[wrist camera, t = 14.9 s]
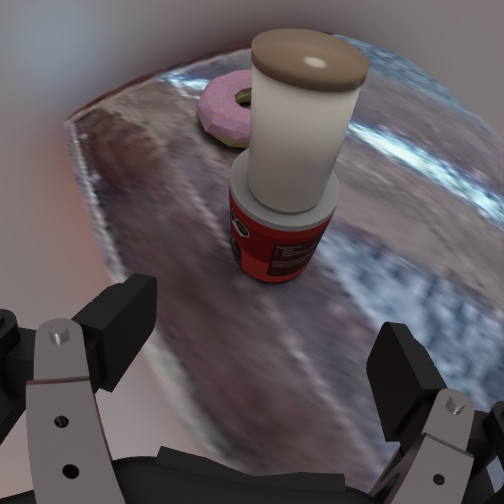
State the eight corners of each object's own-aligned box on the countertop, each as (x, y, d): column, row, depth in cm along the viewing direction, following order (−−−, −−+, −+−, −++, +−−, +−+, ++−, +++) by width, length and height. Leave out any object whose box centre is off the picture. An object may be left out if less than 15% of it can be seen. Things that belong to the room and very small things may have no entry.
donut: (225, 174, 35) (224, 143, 30) (183, 106, 40) (179, 79, 36) (331, 139, 38) (340, 112, 34) (274, 82, 44) (277, 57, 40)
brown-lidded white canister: (284, 141, 22) (302, 23, 14) (342, 184, 21) (388, 63, 12) (229, 177, 20) (226, 42, 12) (289, 229, 19) (325, 89, 10)
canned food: (248, 205, 33) (253, 129, 23) (318, 232, 32) (350, 162, 22) (218, 266, 30) (208, 200, 20) (295, 297, 29) (326, 244, 19)
